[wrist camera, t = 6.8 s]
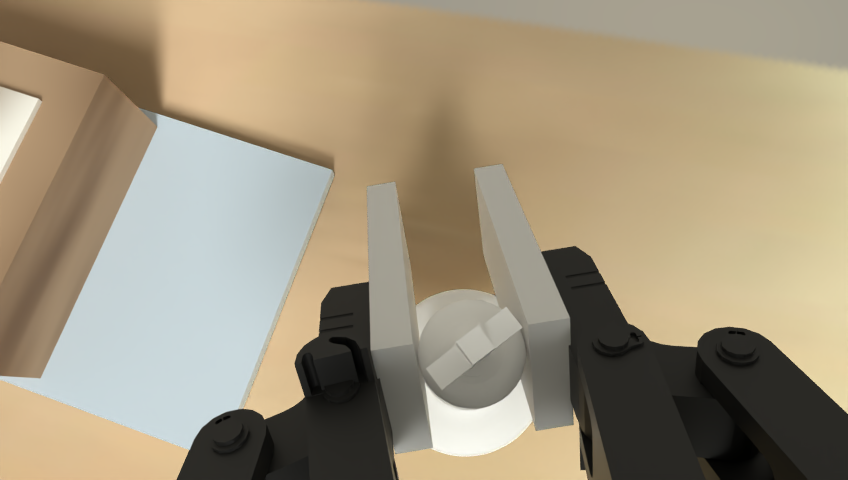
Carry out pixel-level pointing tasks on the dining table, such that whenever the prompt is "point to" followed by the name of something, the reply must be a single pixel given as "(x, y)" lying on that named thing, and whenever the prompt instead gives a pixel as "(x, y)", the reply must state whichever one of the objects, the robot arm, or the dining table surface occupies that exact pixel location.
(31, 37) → the dining table surface
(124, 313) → the pale blue board
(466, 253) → the dining table surface
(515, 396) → the chess piece
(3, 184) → the walnut plinth
